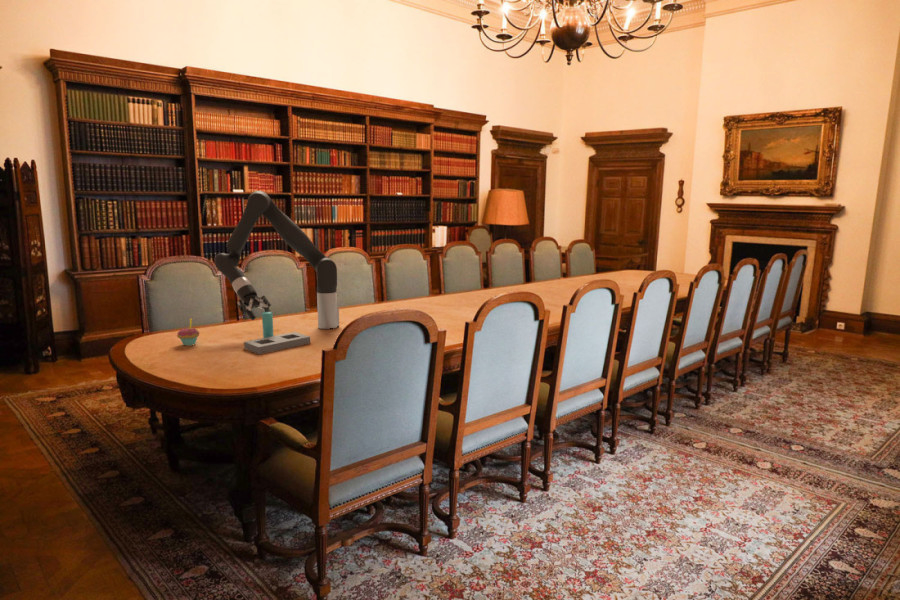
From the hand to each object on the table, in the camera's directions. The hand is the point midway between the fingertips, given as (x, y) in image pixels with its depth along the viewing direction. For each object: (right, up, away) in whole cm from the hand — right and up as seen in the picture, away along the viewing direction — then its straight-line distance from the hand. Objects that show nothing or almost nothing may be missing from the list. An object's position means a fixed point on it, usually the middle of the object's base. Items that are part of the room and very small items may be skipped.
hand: (262, 317), depth 253 cm
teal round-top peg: (+3, -10, 0) cm, 10 cm away
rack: (+10, -12, -11) cm, 19 cm away
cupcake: (-28, -11, -9) cm, 32 cm away
